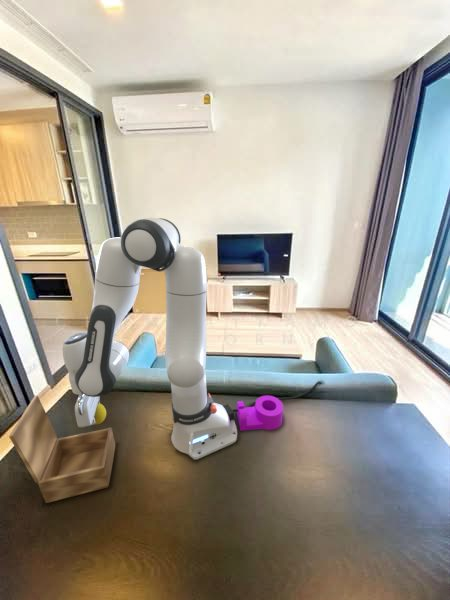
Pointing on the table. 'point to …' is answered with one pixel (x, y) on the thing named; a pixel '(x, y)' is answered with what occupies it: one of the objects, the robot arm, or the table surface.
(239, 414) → the magenta bearing bracket
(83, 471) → the chest
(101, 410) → the lemon
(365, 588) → the table surface
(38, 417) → the lid
